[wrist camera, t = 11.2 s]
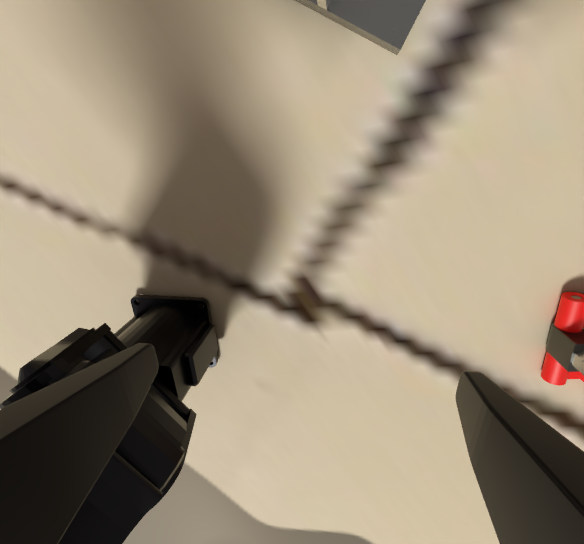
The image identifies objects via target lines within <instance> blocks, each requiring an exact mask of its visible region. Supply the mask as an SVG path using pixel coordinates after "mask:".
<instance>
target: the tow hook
mask: <svg viewBox="0 0 584 544" xmlns="http://www.w3.org/2000/svg"><path fill="white" fill-rule="evenodd" d="M583 328H584V294H581V293H576V292H565V293H562V296H561V299H560V303H559V307H558V311H557V315H556V318H555V322H554V323H552V326H551V329H550V333H549V337H548V341H547V345H546V351H547V353H546V356H545V360H544V364H543V368H542V372H541V377H542V378H543V379H544V380H545V381H547V382H549V383H551V384H554V385H564V384H565V383H566V381H567V379H581V380H582V381H583V382H584V329H583Z"/></svg>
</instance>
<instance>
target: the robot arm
mask: <svg viewBox="0 0 584 544" xmlns="http://www.w3.org/2000/svg"><path fill="white" fill-rule="evenodd" d="M137 300H138V301H139V302H137ZM200 303H201V304H203V305H204V307H203V306H201V305H200ZM131 304H132V308H133V312H134V315H135V317H133V318H132V319H131V320H130V321H129V322H128V323H126V324H125V325H124V326H123V327H122V328H121V329H119V330H118V331H117V332H116V333H115V334H113V333H112V332H111V331H110V330H111V328H110V327H109V326H108V325H107V324H106V323H104V324H103V325H101V326H100V327H99V328H97V329H96V330H95V329H94V328H92V329H91V330H87V329H83V328H78V329H77V330H75V331H74V332H72V333H71V334H70V335H68V336H67V337H65V338H64V339H63V340H61V341H60V342H58V343H57V344H55V345H54V346H52V347H51V348H49V349H48V350H46V351H45V352H43V353H42V354H40V355H39V356H37V357H36V358H34V359H33V360H31V361H30V362H29V363H27V364H26V365H24V366H23V367H22V368H20V371H19V377H18V382H17V386H15V387H14V388H13V389H11V390H10V391H11V392H12V393H13V394H11V395H10V396H9V397H8V398H6V399H5V400H4V401H3V402H1V403H0V409H1V410H0V544H122V543H123V542H124V540H125V539H126V538H127V536H128V535H129V533H130V532H131V531H132V530H133V529H134V527H135V526H136V525H137V524H138V522H139V521H140V520H141V519H142V517H143V516H144V515H145V514H146V513H147V512H148V511H149V510H150V509H152V508H153V507H154V506H155V505H156V504H157V503H158V502H159V501H160V500H161V499H162V497H164V495H165V494H166V493H167V492H168V490H169V489H170V488H171V486H172V485H173V483H174V482H175V480H176V478H177V477H178V475H179V473H180V471H181V469H182V466H183V464H184V461H185V457H186V453H187V449H188V445H189V441H190V437H191V434H192V430H193V426H194V422H195V418H196V413H195V412H194V411H193V410H192V409H189V408H188V407H187V406H186V405H185V404H184V403H183V402H182V400H183V399H184V397H185V395H186V394H187V392H188V390H189V389H190V387H191V386H196V385H197V384H198V383H199V382H200V380H201V379H202V377H203V375H204V373H205V372H206V370H207V368H208V367H215V366H216V364H217V362H218V358H217V351H218V345H217V339H216V332H215V326H214V325H213V323H212V319H211V313H210V306H209V302H208V301H207V300H206V299H204V298H189V297H169V296H149V295H136V296H135V297H133V298H132V299H131ZM212 361H213V362H212ZM456 403H457V408H458V412H459V416H460V420H461V424H462V428H463V433H464V437H465V441H466V445H467V449H468V453H469V457H470V461H471V464H472V467H473V470H474V473H475V475H476V478H477V481H478V484H479V487H480V489H481V492H482V495H483V498H484V501H485V503H486V506H487V509H488V512H489V515H490V517H491V520H492V523H493V526H494V529H495V531H496V534H497V537H498V540H499V543H500V544H584V452H583V451H582V450H581V449H580V448H578V447H577V446H576V445H574V444H573V443H572V442H570V441H569V440H568V439H567V438H565V437H564V436H563V435H561V434H560V433H559V432H558V431H556V430H555V429H554V428H552V427H551V426H550V425H548V424H547V423H546V422H545V421H543V420H542V419H541V418H539V417H538V416H537V415H536V414H534V413H533V412H532V411H530V410H529V409H528V408H526V407H525V406H524V405H523V404H521V403H520V402H519V401H517V400H516V399H515V398H513V397H512V396H511V395H510V394H508V393H507V392H506V391H504V390H503V389H502V388H501V387H499V386H498V385H497V384H495V383H494V382H493V381H491V380H490V379H489V378H488V377H486V376H485V375H484V374H482V373H481V372H478V371H467V370H465V371H463V372H462V373H461V375H460V379H459V383H458V387H457V391H456Z"/></svg>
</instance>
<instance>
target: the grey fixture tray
mask: <svg viewBox="0 0 584 544" xmlns="http://www.w3.org/2000/svg"><path fill="white" fill-rule="evenodd" d="M296 1H298V2H300V3H301V4H303V5H305V6H307V7H309V8H311V9H313V10H314V11H316V12H318V13H320V14H322V15H324V16H326V17H328V18H329V19H331V20H333V21H335V22H337V23H339V24H341V25H342V26H344V27H346V28H348V29H350V30H352V31H354V32H355V33H357V34H359V35H361V36H363V37H365V38H367V39H368V40H370V41H372V42H374V43H376V44H378V45H380V46H381V47H383V48H385V49H387V50H389V51H391V52H393V53H395V54H396V55H397V54H398V53H399V51H400V50H401V48H402V46H403V44H404V42H405V40H406V38H407V36H408V34H409V32H410V30H411V28H412V26H413V24H414V22H415V20H416V18H417V16H418V14H419V12H420V10H421V8H422V6H423V4H424V3H425V1H426V0H296Z"/></svg>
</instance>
